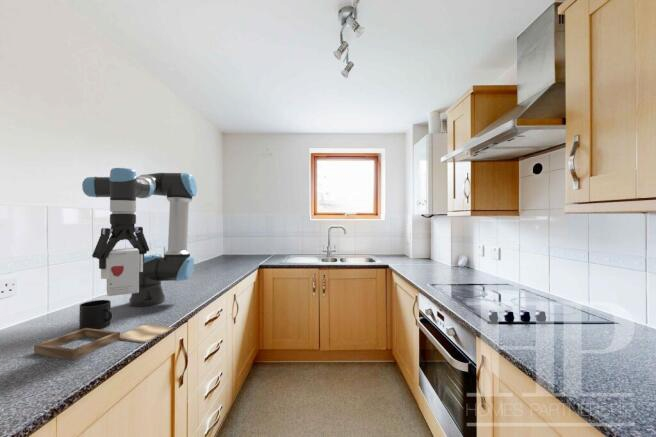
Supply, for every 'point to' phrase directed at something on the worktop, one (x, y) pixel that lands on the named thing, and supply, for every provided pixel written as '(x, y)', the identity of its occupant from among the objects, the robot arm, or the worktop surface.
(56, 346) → the walnut frame
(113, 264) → the supplement box
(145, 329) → the light wooden block
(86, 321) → the mug
